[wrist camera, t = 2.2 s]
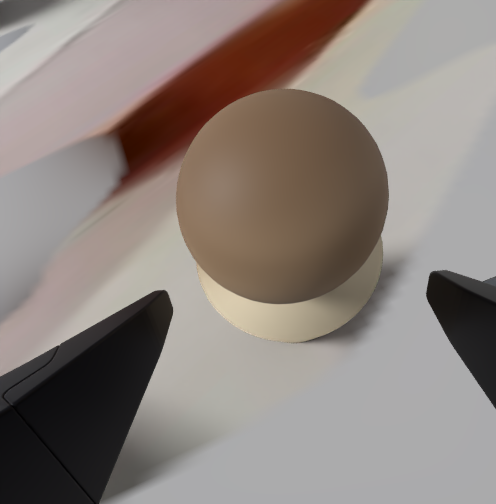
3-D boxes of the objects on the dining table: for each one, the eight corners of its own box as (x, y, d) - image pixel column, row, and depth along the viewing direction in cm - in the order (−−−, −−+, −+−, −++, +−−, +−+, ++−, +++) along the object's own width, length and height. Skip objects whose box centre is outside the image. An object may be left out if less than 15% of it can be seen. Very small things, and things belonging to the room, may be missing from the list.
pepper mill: (344, 326, 16) (654, 208, 2) (271, 354, 16) (111, 420, 2) (310, 258, 18) (354, -41, 4) (245, 284, 18) (73, 87, 4)
